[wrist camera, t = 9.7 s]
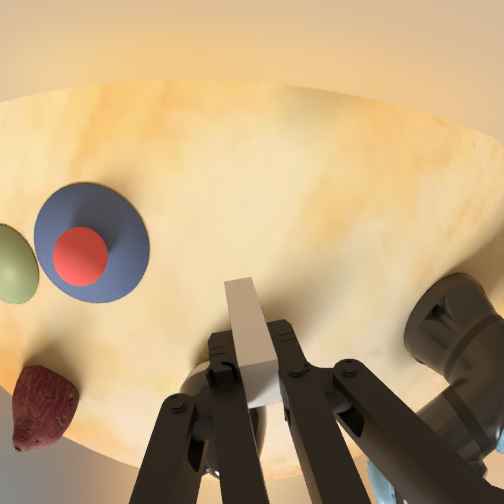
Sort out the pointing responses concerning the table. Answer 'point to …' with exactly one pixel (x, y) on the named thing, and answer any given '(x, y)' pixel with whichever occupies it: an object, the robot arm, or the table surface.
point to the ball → (80, 256)
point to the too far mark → (16, 268)
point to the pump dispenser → (194, 386)
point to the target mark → (107, 226)
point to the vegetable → (41, 408)
